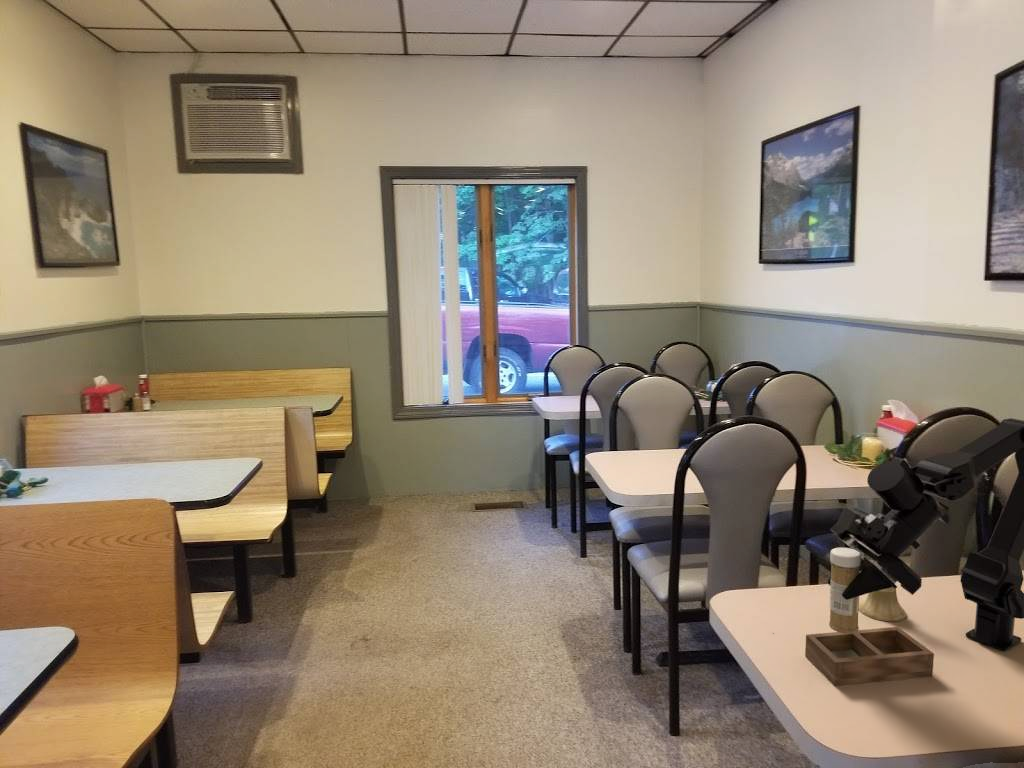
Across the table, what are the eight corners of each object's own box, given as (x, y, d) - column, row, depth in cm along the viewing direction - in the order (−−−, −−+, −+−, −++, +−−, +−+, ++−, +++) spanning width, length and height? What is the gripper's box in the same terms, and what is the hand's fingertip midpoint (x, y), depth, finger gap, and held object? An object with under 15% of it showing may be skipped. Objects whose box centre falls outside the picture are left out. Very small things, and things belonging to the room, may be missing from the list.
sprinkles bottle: (864, 629, 119) (867, 552, 117) (847, 637, 116) (850, 558, 114) (838, 619, 122) (841, 544, 121) (822, 626, 120) (824, 550, 118)
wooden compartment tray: (896, 648, 125) (898, 626, 125) (932, 676, 116) (934, 653, 116) (805, 656, 123) (806, 634, 123) (834, 685, 115) (835, 662, 114)
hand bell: (859, 617, 136) (863, 538, 134) (857, 599, 144) (861, 523, 142) (908, 625, 133) (914, 543, 131) (903, 605, 141) (908, 528, 138)
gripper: (843, 476, 125) (780, 539, 126) (906, 511, 107) (831, 584, 108) (884, 517, 127) (822, 579, 128) (954, 558, 108) (880, 630, 110)
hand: (836, 591), depth 118 cm, fingers closed on sprinkles bottle, 4 cm apart
